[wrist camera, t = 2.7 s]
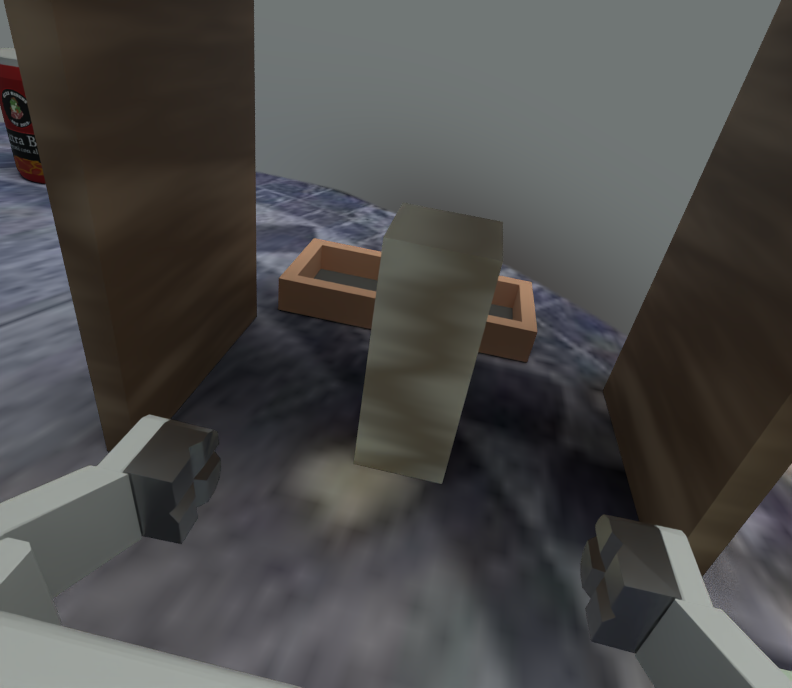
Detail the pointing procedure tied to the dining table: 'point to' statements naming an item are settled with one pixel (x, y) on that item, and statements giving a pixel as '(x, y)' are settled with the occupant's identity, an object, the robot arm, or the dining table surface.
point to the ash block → (425, 337)
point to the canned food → (18, 118)
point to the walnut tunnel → (236, 247)
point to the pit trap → (356, 291)
